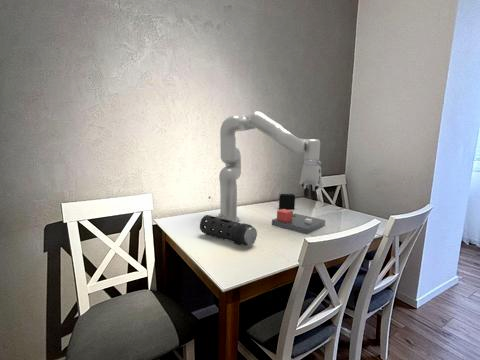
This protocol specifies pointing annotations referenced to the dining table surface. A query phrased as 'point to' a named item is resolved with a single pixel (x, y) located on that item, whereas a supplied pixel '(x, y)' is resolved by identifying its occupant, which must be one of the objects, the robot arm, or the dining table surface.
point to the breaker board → (300, 224)
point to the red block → (284, 215)
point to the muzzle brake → (228, 230)
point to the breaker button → (308, 220)
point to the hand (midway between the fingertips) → (309, 196)
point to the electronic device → (287, 201)
